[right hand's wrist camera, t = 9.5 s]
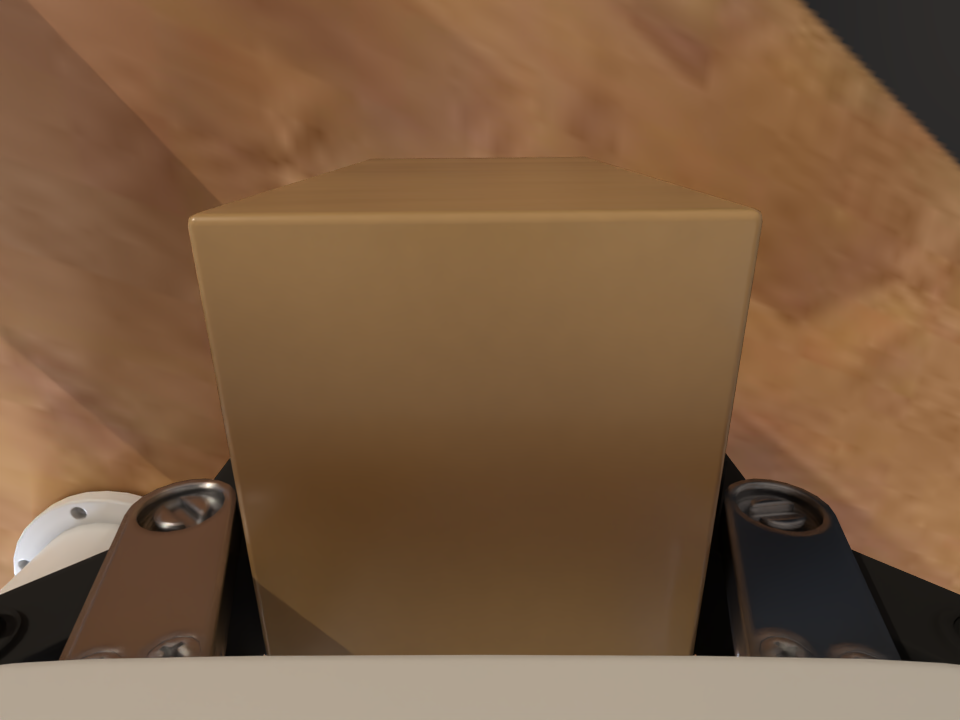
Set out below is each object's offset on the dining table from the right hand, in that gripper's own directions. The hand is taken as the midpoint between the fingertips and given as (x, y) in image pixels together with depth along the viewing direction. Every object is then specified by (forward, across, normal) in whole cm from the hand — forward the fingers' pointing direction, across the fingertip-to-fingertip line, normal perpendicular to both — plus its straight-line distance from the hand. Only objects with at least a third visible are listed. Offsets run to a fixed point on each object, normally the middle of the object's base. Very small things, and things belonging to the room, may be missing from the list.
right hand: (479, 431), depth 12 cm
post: (+4, 0, -25) cm, 25 cm away
